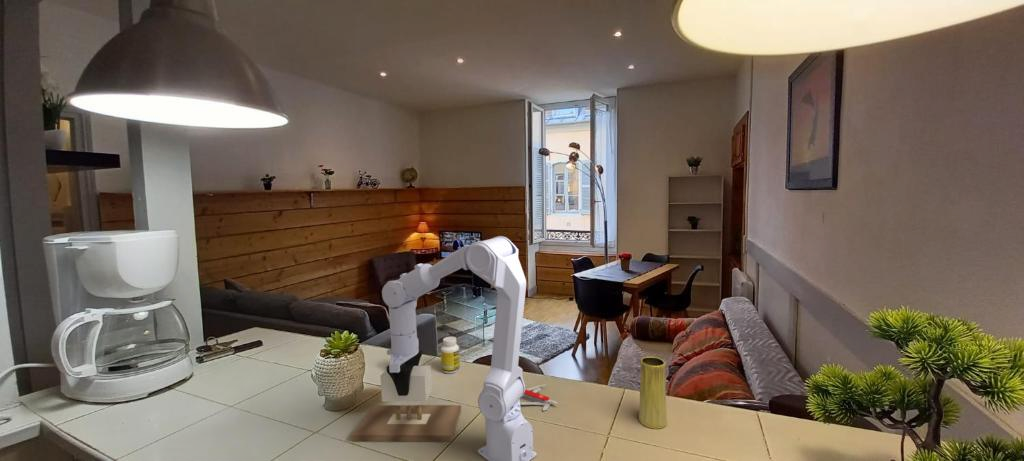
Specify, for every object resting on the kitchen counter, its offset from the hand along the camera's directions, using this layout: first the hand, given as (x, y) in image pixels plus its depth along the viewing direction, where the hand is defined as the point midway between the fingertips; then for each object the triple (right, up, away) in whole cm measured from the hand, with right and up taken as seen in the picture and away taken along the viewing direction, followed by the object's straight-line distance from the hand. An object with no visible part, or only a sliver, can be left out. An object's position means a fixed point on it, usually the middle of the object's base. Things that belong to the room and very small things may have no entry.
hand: (407, 388), depth 91 cm
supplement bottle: (+6, -6, +29) cm, 30 cm away
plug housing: (0, -2, 0) cm, 2 cm away
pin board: (0, -9, +1) cm, 9 cm away
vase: (+56, -7, -1) cm, 57 cm away
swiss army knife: (+30, -7, +10) cm, 33 cm away
